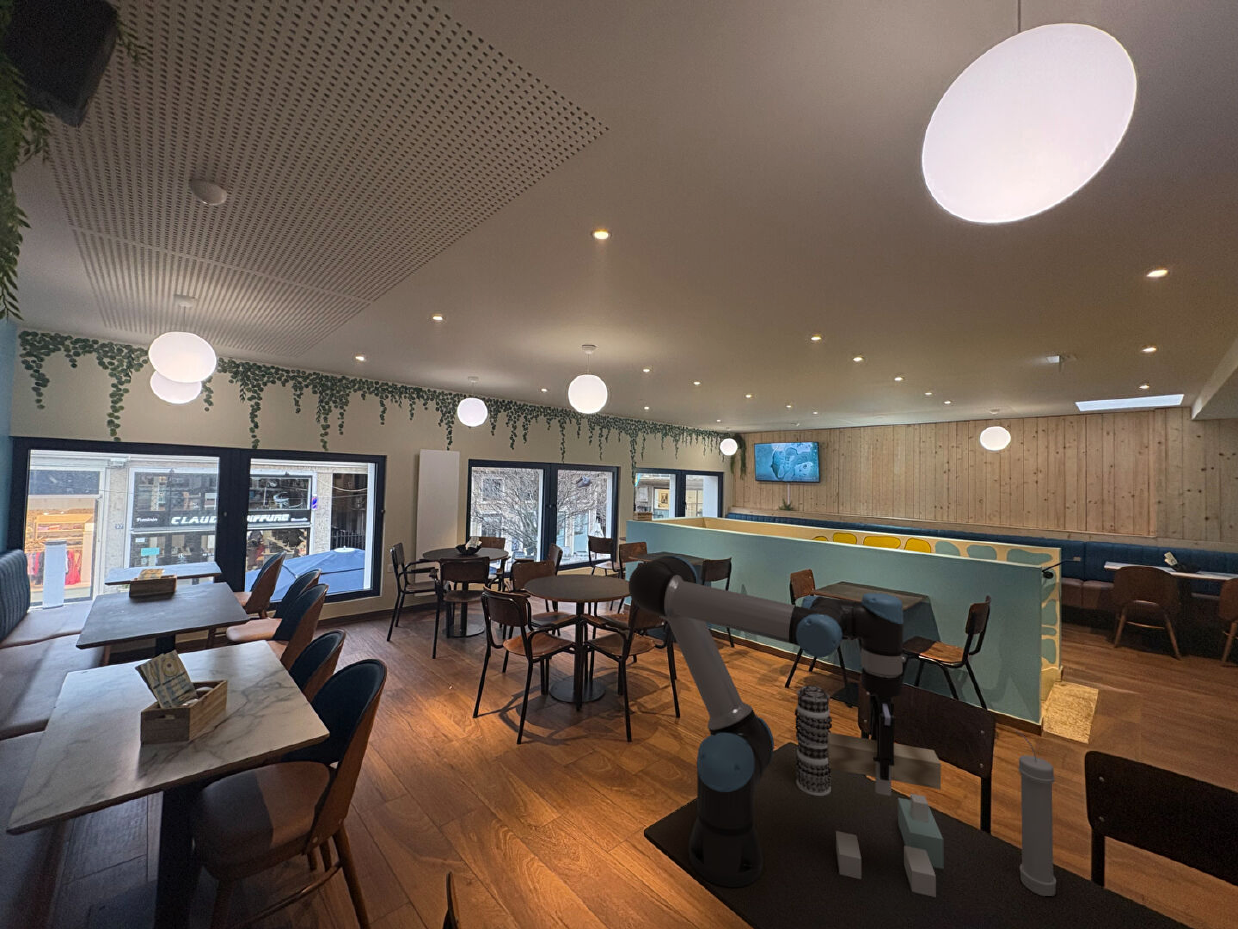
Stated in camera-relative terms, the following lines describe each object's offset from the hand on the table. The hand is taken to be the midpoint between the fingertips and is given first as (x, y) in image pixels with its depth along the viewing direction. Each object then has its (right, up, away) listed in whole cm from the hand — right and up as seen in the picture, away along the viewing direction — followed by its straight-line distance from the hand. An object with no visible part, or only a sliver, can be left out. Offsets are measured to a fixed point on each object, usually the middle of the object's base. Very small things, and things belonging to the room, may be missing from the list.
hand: (880, 784), depth 102 cm
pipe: (+29, -18, -4) cm, 34 cm away
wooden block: (0, +3, 0) cm, 3 cm away
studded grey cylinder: (-3, -18, +28) cm, 33 cm away
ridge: (+12, -18, +7) cm, 23 cm away
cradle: (0, -17, -1) cm, 17 cm away
